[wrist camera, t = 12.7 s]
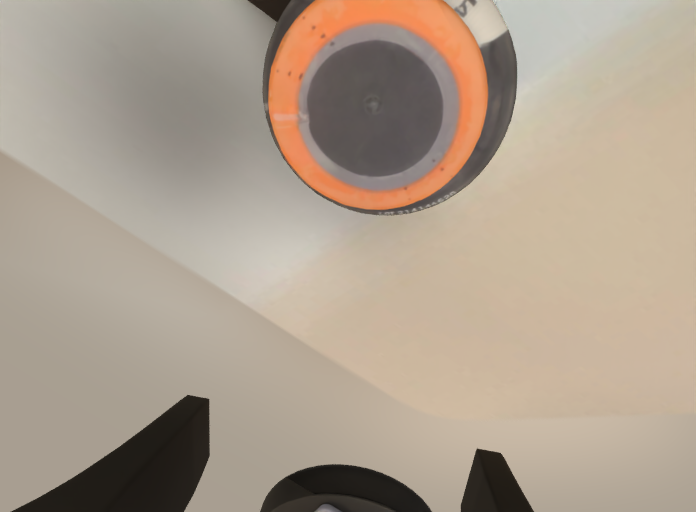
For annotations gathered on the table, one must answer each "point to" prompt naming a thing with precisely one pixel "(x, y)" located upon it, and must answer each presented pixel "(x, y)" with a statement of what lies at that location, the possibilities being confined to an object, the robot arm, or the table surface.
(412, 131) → the pill bottle
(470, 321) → the table surface
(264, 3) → the strip
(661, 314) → the table surface
